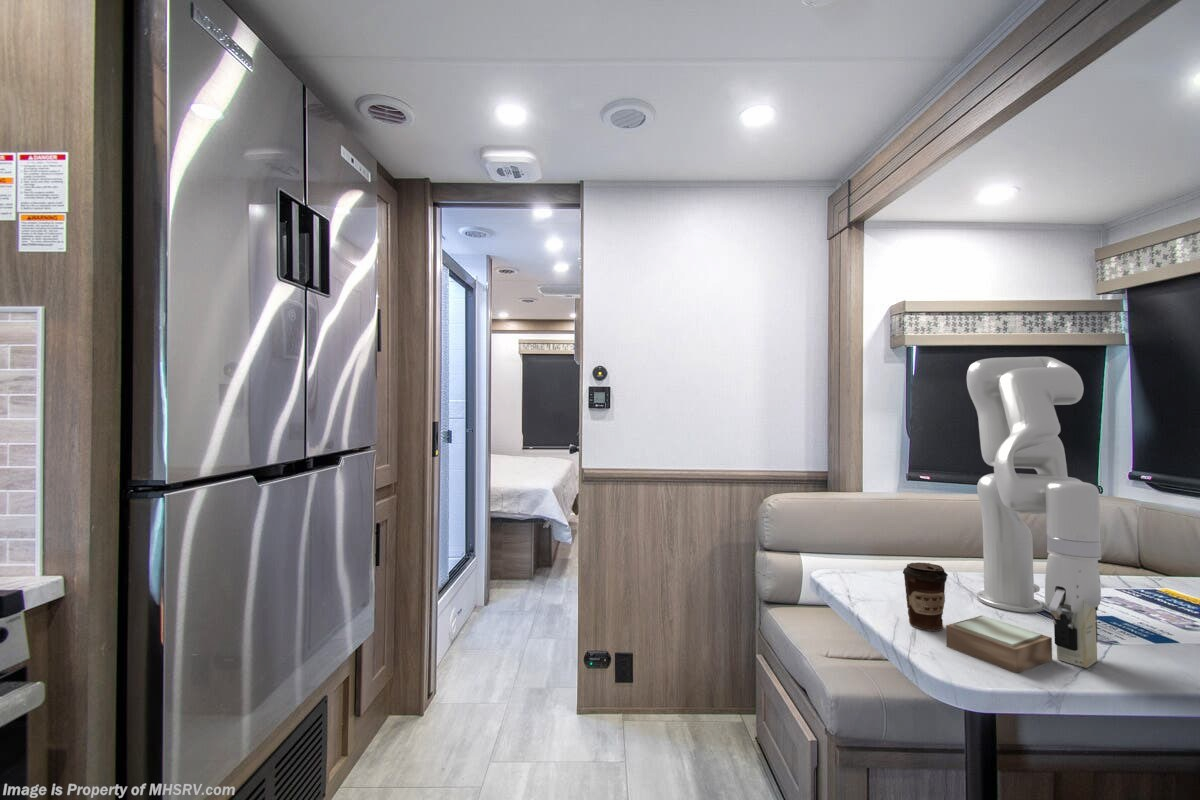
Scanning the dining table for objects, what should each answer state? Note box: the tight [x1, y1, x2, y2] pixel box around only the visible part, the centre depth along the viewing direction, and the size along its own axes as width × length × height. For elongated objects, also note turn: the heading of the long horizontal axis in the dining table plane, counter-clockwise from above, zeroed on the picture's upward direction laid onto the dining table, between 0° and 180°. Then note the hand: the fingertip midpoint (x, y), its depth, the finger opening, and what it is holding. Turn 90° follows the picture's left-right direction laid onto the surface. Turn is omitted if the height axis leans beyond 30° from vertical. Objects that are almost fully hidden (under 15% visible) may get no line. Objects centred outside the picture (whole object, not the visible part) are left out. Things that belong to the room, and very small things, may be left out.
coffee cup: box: [902, 562, 949, 632], centre depth 113 cm, size 9×8×13 cm
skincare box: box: [1056, 600, 1098, 669], centre depth 97 cm, size 6×4×12 cm
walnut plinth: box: [945, 615, 1053, 674], centre depth 100 cm, size 12×12×4 cm
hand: (1076, 643), depth 97 cm, fingers closed on skincare box, 6 cm apart
